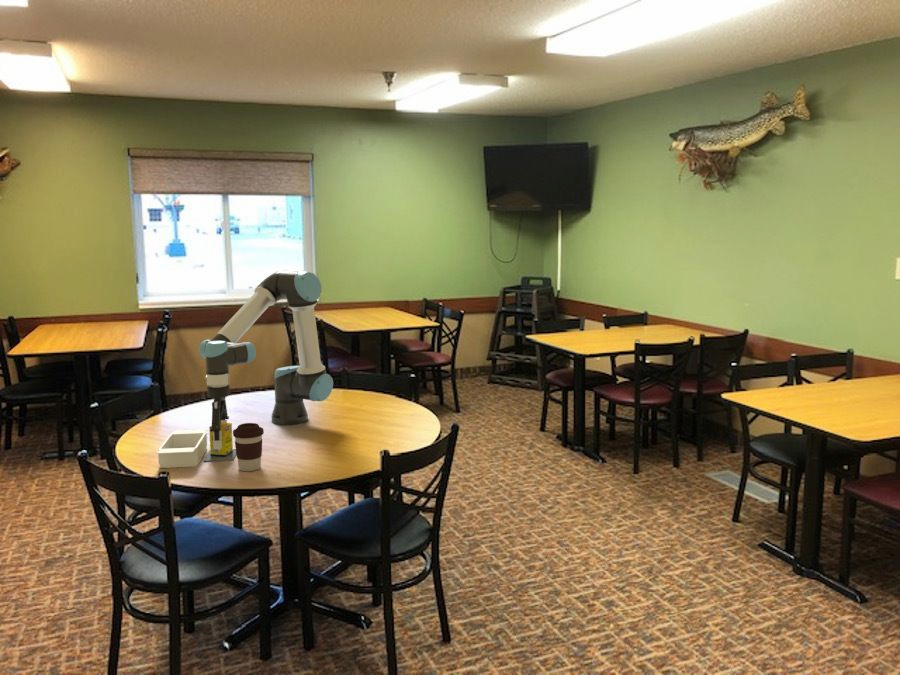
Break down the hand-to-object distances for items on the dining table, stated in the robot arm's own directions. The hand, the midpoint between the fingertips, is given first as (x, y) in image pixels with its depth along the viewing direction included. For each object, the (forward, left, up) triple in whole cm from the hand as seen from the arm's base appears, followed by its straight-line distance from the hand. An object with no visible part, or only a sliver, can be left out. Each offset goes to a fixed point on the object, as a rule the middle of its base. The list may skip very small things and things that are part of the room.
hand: (220, 443), depth 248 cm
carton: (+12, +1, -5) cm, 13 cm away
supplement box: (0, -1, -4) cm, 5 cm away
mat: (0, 0, -5) cm, 5 cm away
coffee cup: (-12, +15, -5) cm, 20 cm away
